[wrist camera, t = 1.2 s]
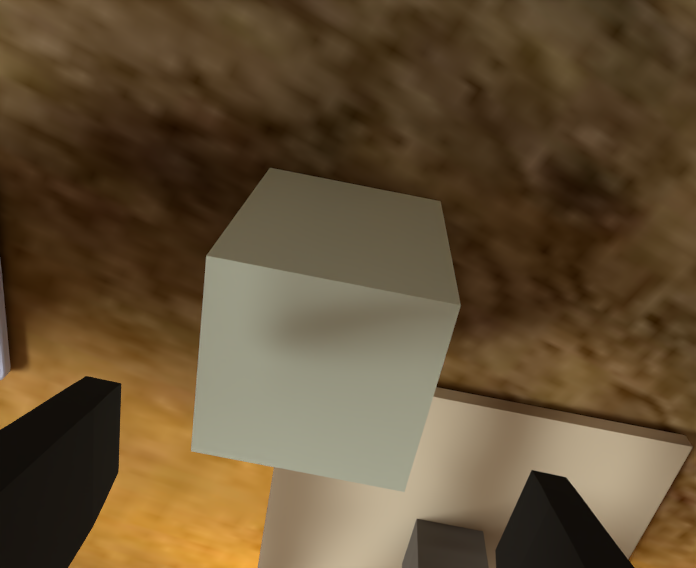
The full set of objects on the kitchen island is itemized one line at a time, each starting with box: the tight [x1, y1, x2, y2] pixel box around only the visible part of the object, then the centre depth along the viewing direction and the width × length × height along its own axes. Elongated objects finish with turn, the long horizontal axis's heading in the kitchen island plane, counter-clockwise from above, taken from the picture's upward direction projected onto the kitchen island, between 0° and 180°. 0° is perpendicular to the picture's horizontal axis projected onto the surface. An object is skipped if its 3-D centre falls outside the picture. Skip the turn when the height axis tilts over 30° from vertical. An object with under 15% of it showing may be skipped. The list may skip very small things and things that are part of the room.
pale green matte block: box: [191, 168, 461, 492], centre depth 16 cm, size 5×5×7 cm
